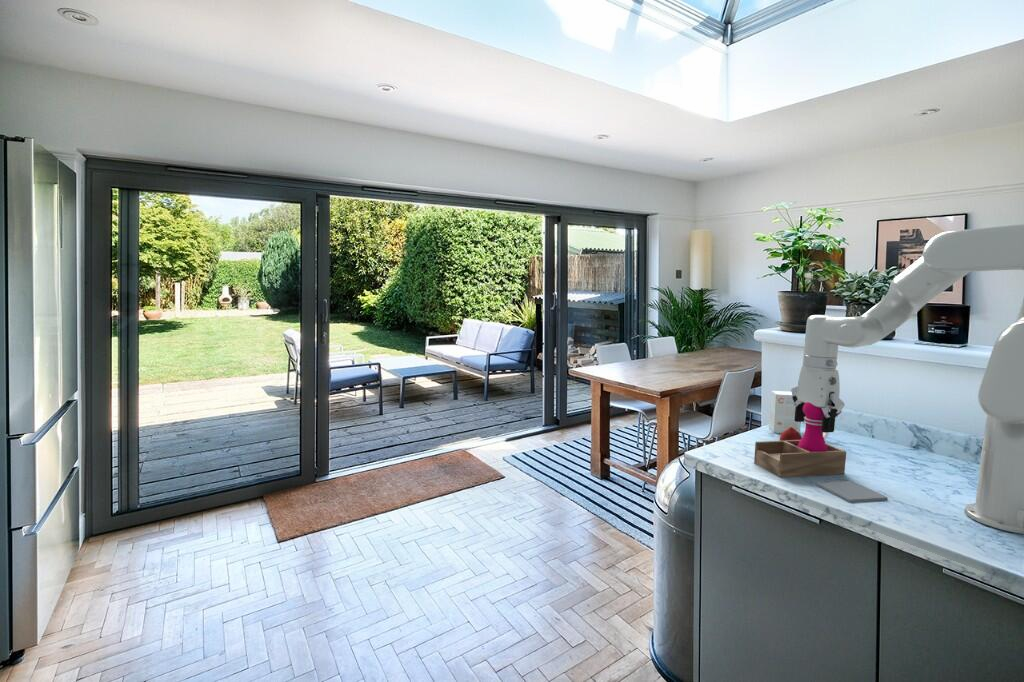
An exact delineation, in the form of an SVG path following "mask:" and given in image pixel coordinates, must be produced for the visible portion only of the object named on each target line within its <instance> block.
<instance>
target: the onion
mask: <svg viewBox="0 0 1024 682" xmlns="http://www.w3.org/2000/svg"><path fill="white" fill-rule="evenodd" d="M802 437H803V436H802V435H801V433H800V434H799V432H797V431H796V430H795V429H794V428H793V426H789V429H787V430H785V431H784V432H782V433H780V436H779V441H784V440H801V439H802Z"/></svg>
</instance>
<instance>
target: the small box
mask: <svg viewBox="0 0 1024 682" xmlns="http://www.w3.org/2000/svg"><path fill="white" fill-rule="evenodd" d="M770 391H771V393H770V407H769V421H768V422H769V423H768V424H769V425H768V428H769V430H770V431H771V432H772V433H774V434H782V432H784V431H785V430H787V429H789V426H793V428H794V429H795V430H796V431H797V432H799V434H800V435H801V428H802V427H801V426H802V424H801V423H802V422H795V421H794V419H795V408H796V407H795V406H794V401H793V399H792V397H793V396H792V392H791V391H786V390H785V391H784V390H783V391H780V390H770Z"/></svg>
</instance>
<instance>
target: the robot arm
mask: <svg viewBox="0 0 1024 682" xmlns="http://www.w3.org/2000/svg"><path fill="white" fill-rule="evenodd" d="M1012 270H1013V271H1015V270H1016V271H1020V270H1021V271H1024V223H1023V224H1013V225H1012V224H1011V225H1004V226H1002V225H1000V226H994V227H993V226H992V227H980V228H971V229H969V228H968V229H959V230H957V229H955V230H948V231H947V230H946V231H944V232H941V233H938V234H936V235H935V236H933V237H931V239H928V241H927V243H926V244H925V245H924V247H923V250H922V256H920V257H919V258H918V259H917V260H915V261H914V262H913V263H911V264H910V265H909V266H907V267H906V268H905V269H904V270H903V271H900V273H899V274H897V275H896V276H895V277H894V278H893V279H892V280H891V281H890V285H889V289H888V291H887V292H886V294H885V295H884V297H883V298H882V299H881V300H880V301H878V303H876V304H875V305H874V306H872V307H871V308H870V309H869V310H867V311H866V312H865V313H863V314H862V315H860V316H848V317H846V316H845V317H843V316H842V317H839V316H836V315H828V314H813V315H810V316H808V317H807V320H806V327H805V338H804V346H803V347H804V349H803V357H802V358H803V359H802V365H801V368H800V372H799V374H798V381H797V386H795V387H792V388H791V389H790V392H792V396H793V397H792V399H793V401H794V406H795V407H796V408H795V419H794V421H795V422H801V423H805V422H804V420H805V419H804V417H805V416H806V415H805V414H804V412H803V405H804V404H805V403H806V402H809V403H811V404H813V405H814V406H816V407H818V408H822V411H823V413H824V415H825V417H823V419H822V429H821V431H822V432H824V433H827V432H829V433H834V432H835V424H836V418H838V416H839V415H840V414H841V413H842V410H843V409H844V407H845V403H844V402H843V400H842V399H840V386H841V385H840V375H839V370H837V367H838V354H839V353H838V351H839V346H841V347H845V348H859V347H865V346H871V345H875V344H876V343H878V342H880V341H882V340H883V339H884V338H886V337H887V336H889V335H890V334H891V333H892V332H894V331H896V329H898V328H900V326H902V325H904V323H906V322H907V321H909V319H910V318H912V317H913V316H914V315H915V314H917V313H918V312H919V311H920V310H921V309H922V308H923V307H924V306H925V305H926V304H928V303H929V302H931V301H932V300H933V299H935V298H936V297H938V296H939V295H940V294H941V293H943V292H944V291H945V290H947V289H948V288H950V287H951V286H952V285H954V284H955V283H957V282H958V281H959V280H961V279H962V278H964V277H965V276H966V275H968V274H969V273H970V272H987V271H988V272H989V271H991V272H992V271H1012ZM1021 303H1022V304H1021V307H1020V309H1019V312H1018V314H1017V316H1016V319H1015V322H1013V323H1011V324H1010V325H1007V326H1006V327H1005V328H1004V329H1003V330H1002V331H1001V332H1000V333H999V334H998V337H997V338H996V340H995V341H994V344H993V347H992V350H991V353H990V356H989V359H988V361H987V365H986V368H985V371H984V374H983V377H982V380H981V383H980V385H979V388H978V389H979V390H978V393H977V394H978V395H977V398H978V403H979V406H980V408H981V409H982V411H983V413H985V414H986V420H985V425H984V432H983V437H982V439H983V440H982V445H981V446H982V447H981V453H980V454H981V455H980V461H979V468H978V469H979V470H978V472H979V473H978V480H977V485H976V486H977V487H976V496H975V503H969V504H967V505H965V506H964V513H965V515H967V516H968V517H969V518H970V519H972V520H974V521H976V522H978V523H981V524H983V525H986V526H989V527H992V528H993V529H994V528H995V529H997V530H1001V531H1004V532H1005V531H1006V532H1010V533H1016V534H1021V535H1024V298H1023V299H1022V302H1021ZM828 409H829V411H828Z"/></svg>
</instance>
